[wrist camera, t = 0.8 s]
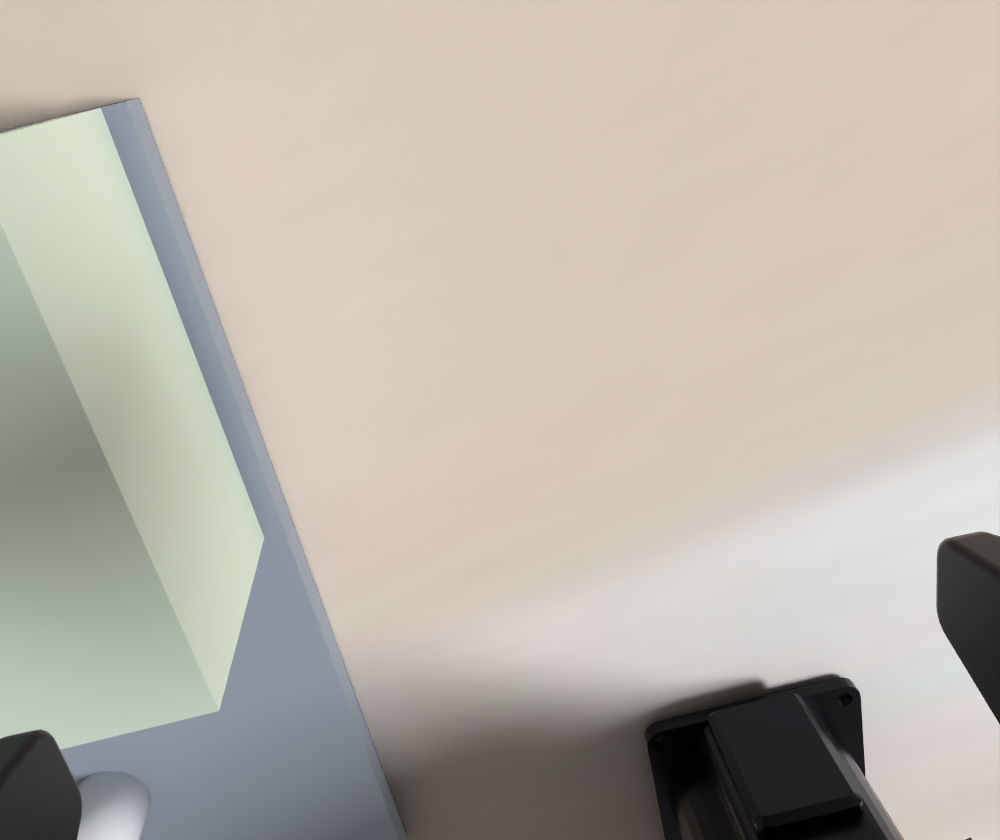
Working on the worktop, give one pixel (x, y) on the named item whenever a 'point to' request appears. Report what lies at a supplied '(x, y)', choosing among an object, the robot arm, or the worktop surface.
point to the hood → (105, 461)
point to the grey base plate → (261, 643)
